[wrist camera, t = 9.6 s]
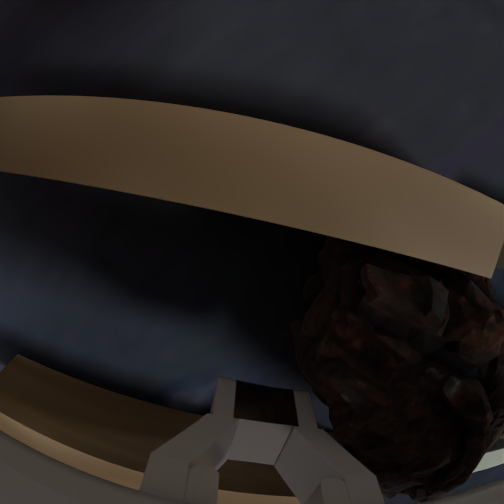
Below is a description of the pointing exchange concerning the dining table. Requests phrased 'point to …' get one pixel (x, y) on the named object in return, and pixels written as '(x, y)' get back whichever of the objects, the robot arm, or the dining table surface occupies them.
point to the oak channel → (225, 200)
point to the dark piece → (404, 365)
